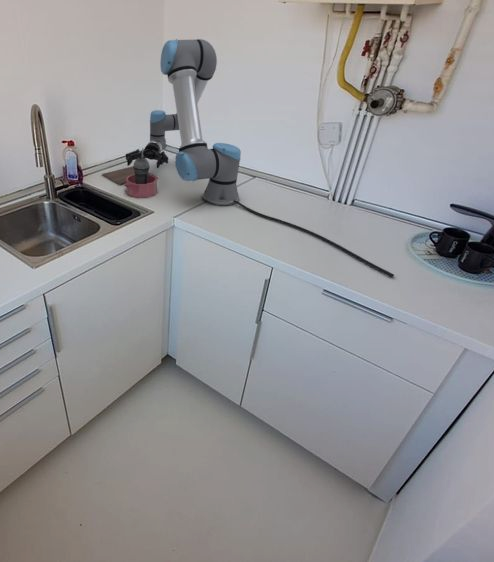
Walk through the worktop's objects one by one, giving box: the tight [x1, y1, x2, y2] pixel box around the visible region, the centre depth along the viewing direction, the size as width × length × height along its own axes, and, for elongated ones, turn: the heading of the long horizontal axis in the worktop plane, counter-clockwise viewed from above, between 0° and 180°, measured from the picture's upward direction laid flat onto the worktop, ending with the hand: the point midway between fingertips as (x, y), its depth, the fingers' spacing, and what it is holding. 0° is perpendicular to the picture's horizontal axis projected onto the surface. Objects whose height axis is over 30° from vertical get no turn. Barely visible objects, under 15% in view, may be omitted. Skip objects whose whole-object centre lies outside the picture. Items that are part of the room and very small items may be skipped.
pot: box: [124, 173, 159, 199], centre depth 170 cm, size 14×17×6 cm
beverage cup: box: [133, 147, 150, 184], centre depth 165 cm, size 7×7×20 cm
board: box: [102, 165, 153, 186], centre depth 187 cm, size 16×20×1 cm
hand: (142, 164), depth 166 cm, fingers open, 13 cm apart
